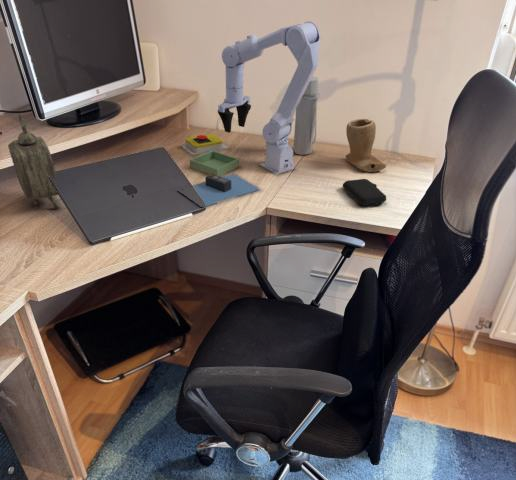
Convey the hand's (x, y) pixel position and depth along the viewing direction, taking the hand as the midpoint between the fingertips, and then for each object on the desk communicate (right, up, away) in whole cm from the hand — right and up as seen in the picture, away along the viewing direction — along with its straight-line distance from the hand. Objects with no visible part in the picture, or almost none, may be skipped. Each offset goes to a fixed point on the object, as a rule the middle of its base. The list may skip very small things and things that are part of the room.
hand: (234, 129), depth 174 cm
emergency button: (-12, -3, +11) cm, 16 cm away
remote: (-5, -25, -14) cm, 29 cm away
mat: (-4, -26, -15) cm, 31 cm away
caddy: (-7, -14, -2) cm, 16 cm away
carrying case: (+42, -28, -15) cm, 53 cm away
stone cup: (+45, -12, +3) cm, 46 cm away
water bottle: (+25, -5, +10) cm, 28 cm away
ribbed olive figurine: (-56, -33, -25) cm, 70 cm away
